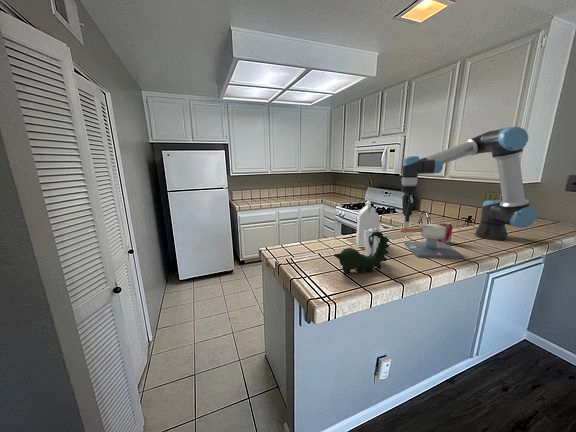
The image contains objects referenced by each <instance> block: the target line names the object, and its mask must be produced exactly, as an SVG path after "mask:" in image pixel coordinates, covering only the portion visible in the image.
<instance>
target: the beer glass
mask: <svg viewBox="0 0 576 432" xmlns="http://www.w3.org/2000/svg"><path fill="white" fill-rule="evenodd" d="M374 232H380V229H379V230H377V229H373V228H368V229H365V231H364V245H365V248H364V255H365V256H373V255H374V253H375V252H376V249H377V246H378V241H379V242H380V238H378V237H377V236H373V237H370V236H371V234H372V233H374Z"/></svg>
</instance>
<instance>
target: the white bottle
mask: <svg viewBox="0 0 576 432" xmlns="http://www.w3.org/2000/svg"><path fill="white" fill-rule="evenodd" d="M445 230H446V228H445V227H444V226H440V225H438V224H431V223H429V224H428V223H427V224H421V225H420V227H403V226H401V227H400V233H403V234H404V233H420V235H419V236H421V237H423V238H431V239H443V238H445Z"/></svg>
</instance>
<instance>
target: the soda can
mask: <svg viewBox="0 0 576 432" xmlns="http://www.w3.org/2000/svg"><path fill="white" fill-rule="evenodd" d="M437 225H440V226H444V227H445V228H446V230H445V238H443V239H437V242H443V243H445V244H446V245H448V244H449V243H451V239H452V233H453V225H452V222H449V221H439V223H438V224H437Z"/></svg>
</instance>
